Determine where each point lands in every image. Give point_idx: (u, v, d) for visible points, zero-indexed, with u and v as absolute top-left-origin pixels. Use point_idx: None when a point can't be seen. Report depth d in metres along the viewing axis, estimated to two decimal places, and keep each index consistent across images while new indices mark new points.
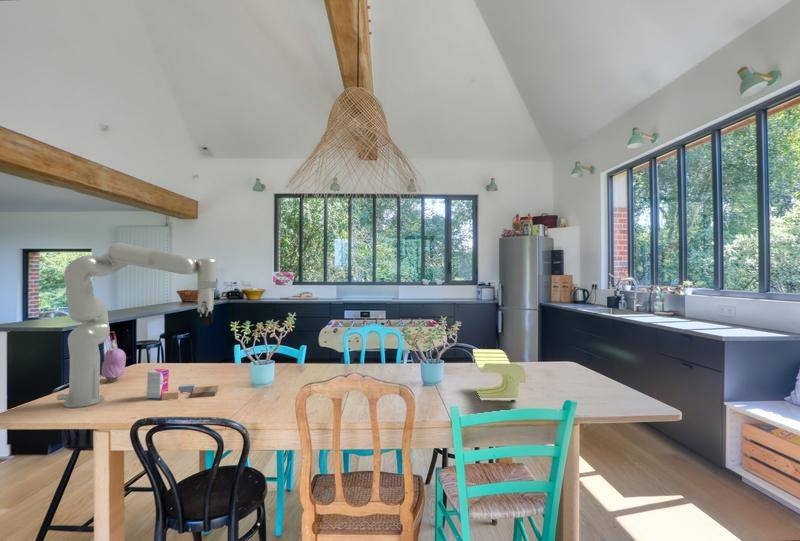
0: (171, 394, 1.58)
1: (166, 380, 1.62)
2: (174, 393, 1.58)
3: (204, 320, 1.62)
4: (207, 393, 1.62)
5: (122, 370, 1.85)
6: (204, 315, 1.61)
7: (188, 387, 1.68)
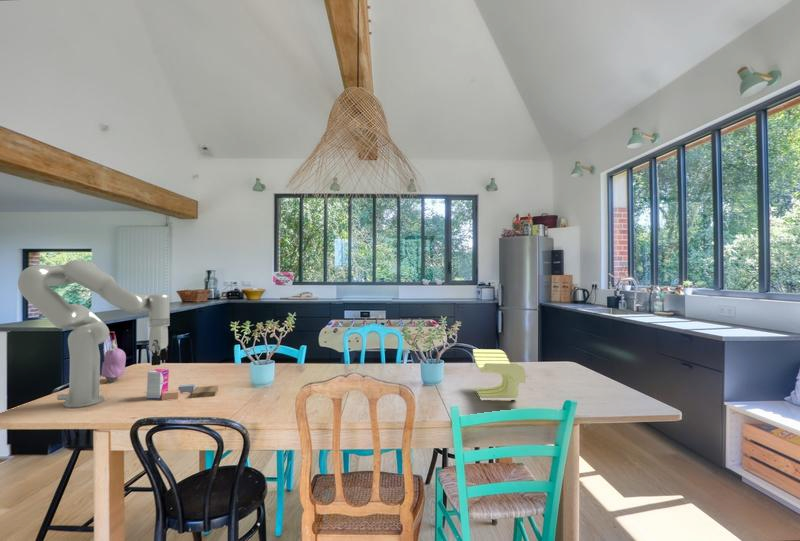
0: (171, 394, 1.58)
1: (166, 380, 1.62)
2: (174, 393, 1.58)
3: (156, 359, 1.56)
4: (207, 393, 1.62)
5: (122, 370, 1.85)
6: (155, 354, 1.55)
7: (188, 387, 1.68)
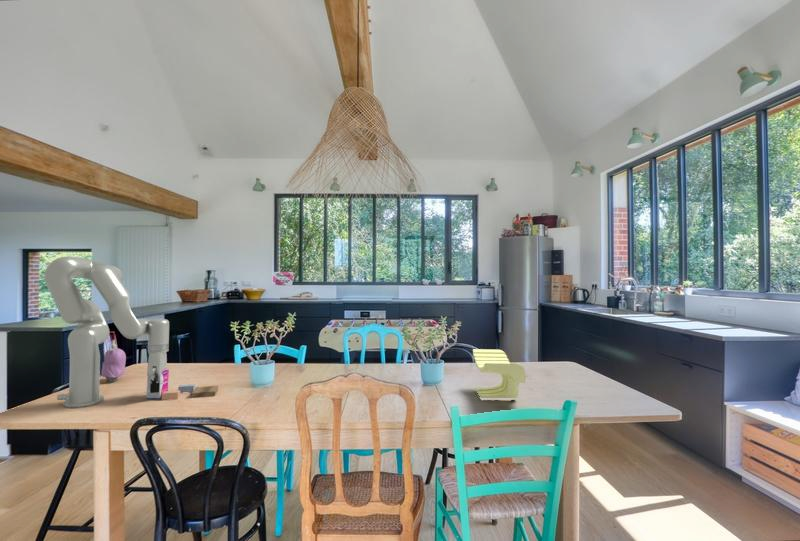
0: (171, 394, 1.58)
1: (166, 380, 1.62)
2: (174, 393, 1.58)
3: (154, 387, 1.56)
4: (207, 393, 1.62)
5: (122, 370, 1.85)
6: (154, 382, 1.56)
7: (188, 387, 1.68)
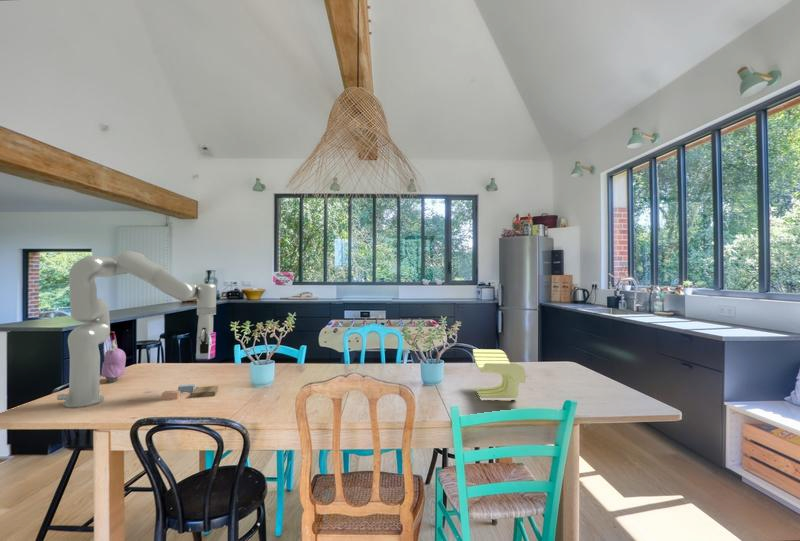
0: (171, 394, 1.58)
1: (214, 342, 1.68)
2: (173, 393, 1.58)
3: (204, 348, 1.62)
4: (207, 393, 1.62)
5: (122, 370, 1.85)
6: (204, 343, 1.61)
7: (188, 387, 1.68)
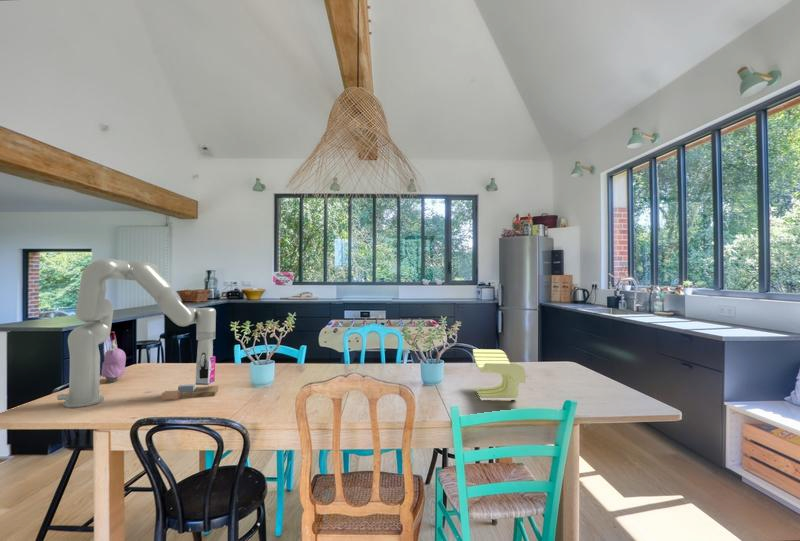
0: (170, 394, 1.58)
1: (213, 366, 1.67)
2: (173, 393, 1.58)
3: (204, 373, 1.62)
4: (207, 393, 1.62)
5: (122, 370, 1.85)
6: (204, 368, 1.61)
7: (188, 387, 1.68)
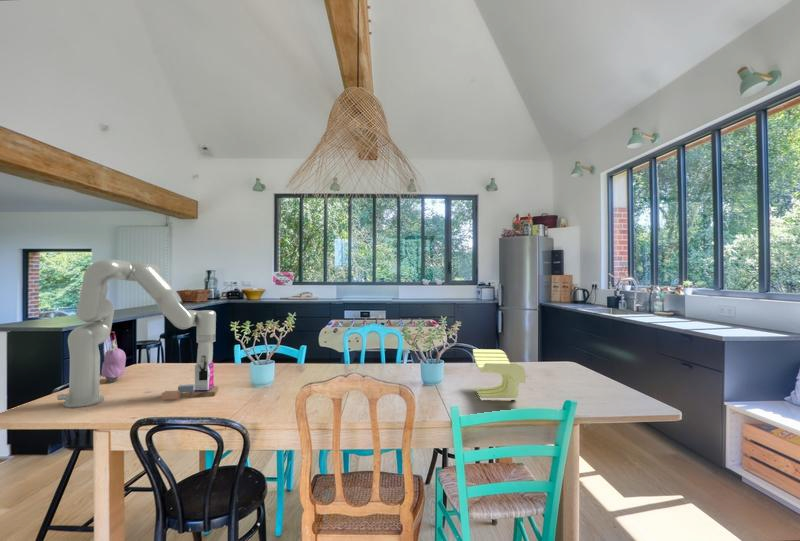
0: (170, 394, 1.58)
1: (212, 372, 1.67)
2: (173, 393, 1.58)
3: (203, 375, 1.61)
4: (207, 393, 1.62)
5: (122, 370, 1.85)
6: (203, 370, 1.60)
7: (188, 387, 1.68)
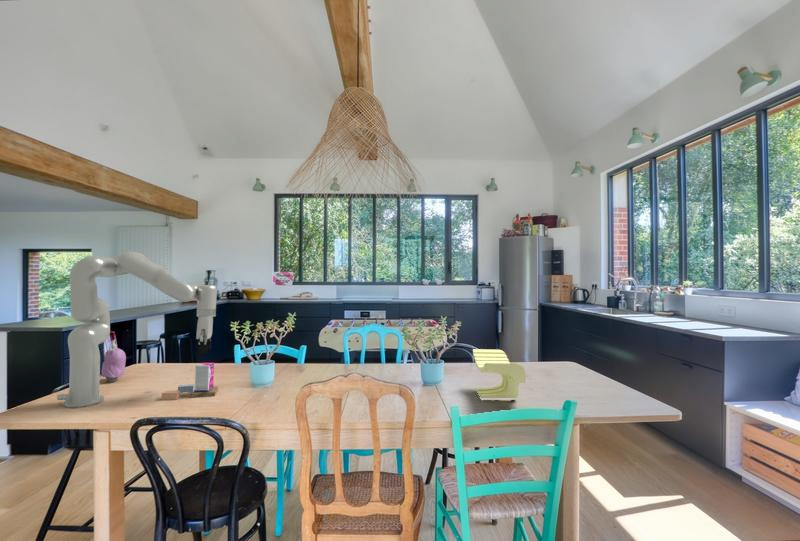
0: (170, 394, 1.58)
1: (212, 373, 1.68)
2: (173, 393, 1.58)
3: (202, 348, 1.61)
4: (207, 394, 1.62)
5: (122, 370, 1.85)
6: (202, 343, 1.60)
7: (187, 387, 1.68)
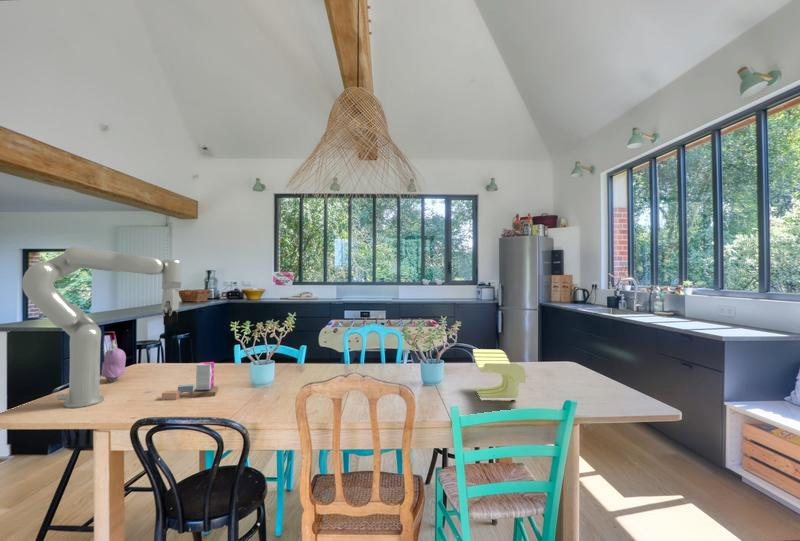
0: (170, 394, 1.58)
1: (213, 372, 1.68)
2: (173, 393, 1.58)
3: (167, 319, 1.66)
4: (207, 393, 1.62)
5: (122, 370, 1.85)
6: (167, 314, 1.66)
7: (187, 387, 1.68)
